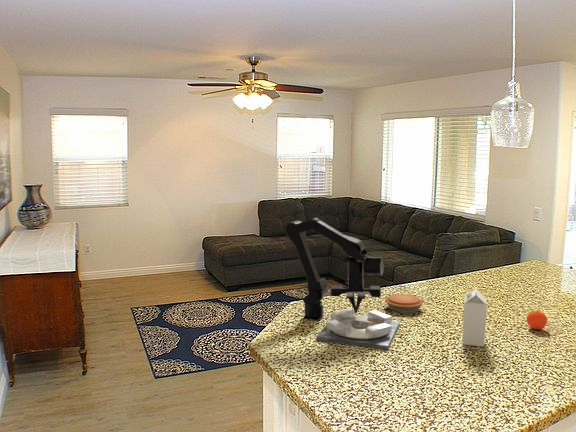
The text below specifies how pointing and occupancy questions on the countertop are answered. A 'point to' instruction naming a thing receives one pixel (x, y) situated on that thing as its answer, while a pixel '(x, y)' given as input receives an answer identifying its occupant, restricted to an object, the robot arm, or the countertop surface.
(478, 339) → the milk carton
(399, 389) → the countertop surface
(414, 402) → the countertop surface
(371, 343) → the base plate
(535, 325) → the tomato
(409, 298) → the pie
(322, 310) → the robot arm
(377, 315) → the slotted metal disc
